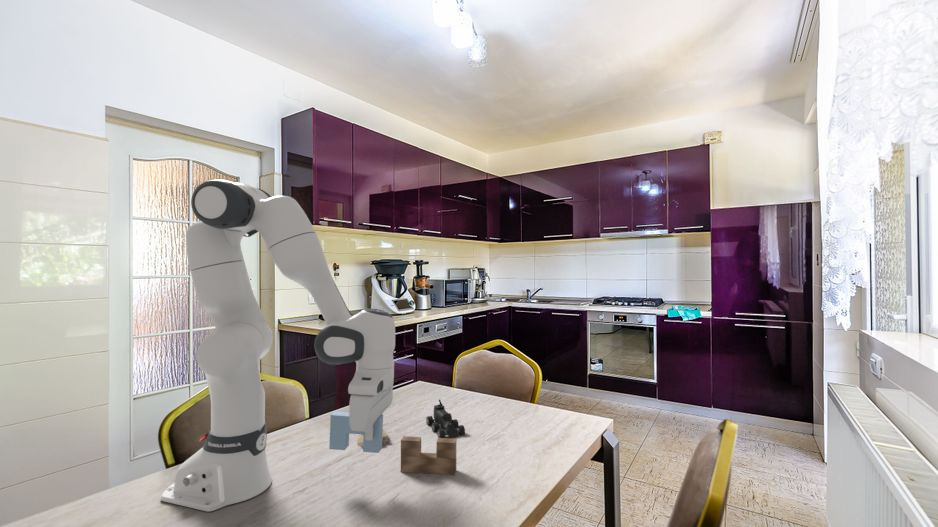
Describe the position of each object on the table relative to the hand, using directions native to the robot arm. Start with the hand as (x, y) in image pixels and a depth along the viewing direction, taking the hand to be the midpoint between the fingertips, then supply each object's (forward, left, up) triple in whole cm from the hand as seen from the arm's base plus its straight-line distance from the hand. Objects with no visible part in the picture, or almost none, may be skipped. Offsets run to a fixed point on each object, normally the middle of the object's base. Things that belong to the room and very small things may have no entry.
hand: (372, 435), depth 95 cm
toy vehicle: (+11, +36, -13) cm, 40 cm away
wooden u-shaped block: (+12, +9, -12) cm, 19 cm away
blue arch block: (-4, 0, -3) cm, 5 cm away
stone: (-8, +24, -13) cm, 29 cm away
